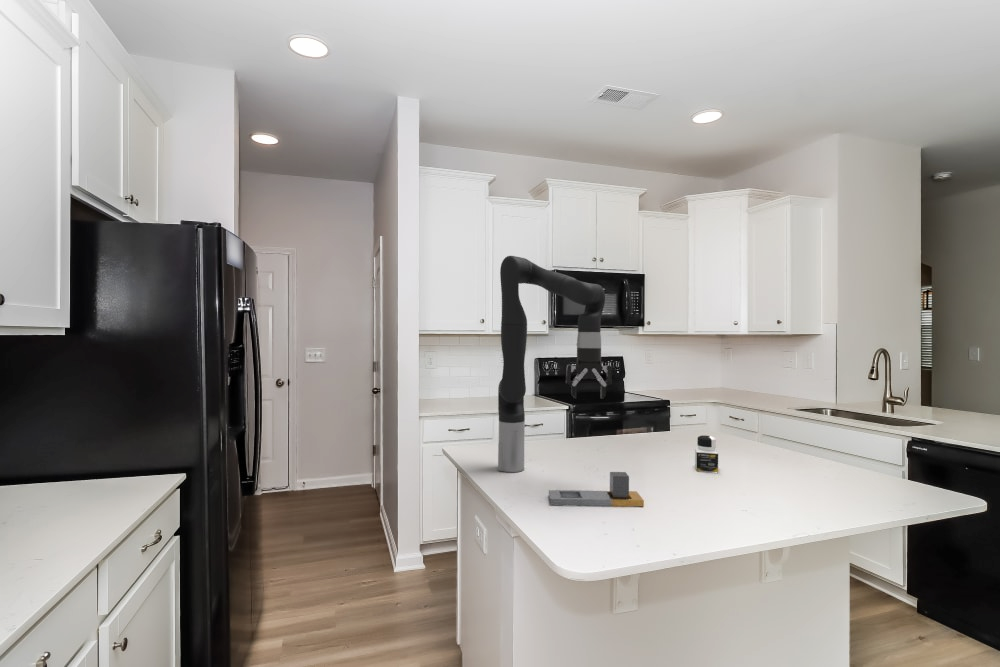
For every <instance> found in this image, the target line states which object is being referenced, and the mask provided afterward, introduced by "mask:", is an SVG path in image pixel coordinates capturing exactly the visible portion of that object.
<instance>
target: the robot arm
mask: <svg viewBox="0 0 1000 667" xmlns="http://www.w3.org/2000/svg"><path fill="white" fill-rule="evenodd" d="M499 273H500V274H499V275H500V276H499V277H500V290H501V322H500V344H501V352H502V353H501V354H502V358H503V364H502V365H503V366H502V367H503V368H502V377H501V380H500V381H499V383H498V389H497V391H498V392H497V397H498V398H497V399H498V400H497V401H498V402H497V403H498V404H497V405H498V409H497V410H498V444H497V445H498V446H497V447H498V448H497V449H498V450H497V459H498V460H497V466H498V467H497V470H498V472H505V473H519V472H522V471H524V470H525V427H526V426H525V419H526V418H525V417H526V415H525V407H524V406H525V402H524V401H525V400H524V399H525V398H524V397H525V395H526V390H527V388H526V387H527V386H526V375H525V360H526V359H525V357H526V351H527V338H528V320H527V315H526V312H525V309H524V306H523V305H522V303H521V302H522V301H521V299H520V296H519V295H520V294H519V292H520V291H519V289H520V288H519V285H520V284H527V285H528V284H529V285H534V286H539V287H541V288H543V289H545V290H546V291H548V292H550V293H552V294H554V295H556V296H560V297H563V298H566V299H568V300H570V301H571V302H573V303H576V304H579V305H581V306H585V307H584V310H583V311H584V312H583V313H581V314H579V316H578V318H577V337H576V339H577V340H576V364H575V365H571V364H567V365H566V369H565V370H566V372H565V384H568V385H570V388H571V391H570V394H571V396H572V397H573V399H577V397H578V396H577V394H578V393H577V389H578V388H577V384H578V383H579V382H580V381H581V380H582V379H583V380H589V379H590V380H595V379H596V380H597V381H598V382H599V384H600V385H601V386H600V390H599V391H600V394H599V395H600V396H599V397H600V399H604V398H605V397H606V395H607V387H608V386H611V385H612V384H613V372H612V371H613V370H612V366H611V365H609V364H607V365H602V335H601V330H602V329H601V318H602V315H603V311H604V307H605V303H606V294H605V290H604V288H603V286H601V285H600V284H598V283H591V282H590V283H589V282H585V281H581V280H578V279H577V278H575V277H573V276H570V275H567V274H563V273H560V272H556V271H553V270H549V269H546V268H544V267H541V266H539V265H537V264H536V263H535V262H532V261H530V260H529V259H527V258H525V257H520V256H515V255H507V256H505V258H504V259H503V260H502V262H501V264H500V271H499ZM575 370H576V372H577V374H576V376H575V377H574V378H573V380H571V379H572V378H571V377H572V373H573V372H574V371H575ZM602 371H604V372H605V373H606V374H605V375H606V380H604V379H603V377H602V376H601V375H600V373H601V372H602ZM604 400H605V399H604Z"/></svg>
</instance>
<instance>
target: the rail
mask: <svg viewBox="0 0 1000 667" xmlns="http://www.w3.org/2000/svg"><path fill="white" fill-rule="evenodd" d="M569 497H580V498H569ZM548 499H550V500H549V502H550V503H551V504H550V506H563V505H585V506H584V507H628V506H644V505H645V503H644V502H645V499H643V498H642V496H641V495H640V493H639V492H638V491H636V490H635V491H633V490H629V499H611V498H610V490H574V489H573V490H571V489H570V490H567V489H566V490H565V489H549V490H548ZM644 507H645V506H644Z"/></svg>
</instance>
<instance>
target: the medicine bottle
mask: <svg viewBox="0 0 1000 667" xmlns="http://www.w3.org/2000/svg"><path fill="white" fill-rule="evenodd" d="M696 442H697V444H696V445H697V446H696V447H695V448H694V467H695V471H696V472H700V471H703V472H702V473H704V472H705V473H712V472H717V473H716V474H718V473H719V452H718V450H717V448H716V447H717V446H716V445H717V444H716V442H717V439H716V437H714V436H711V435H705V434H704V435H699V436H698V437H697V440H696Z"/></svg>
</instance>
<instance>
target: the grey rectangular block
mask: <svg viewBox="0 0 1000 667" xmlns="http://www.w3.org/2000/svg"><path fill="white" fill-rule="evenodd" d="M609 491H610V498H611V499H629V491H630V476H629V474H627V472H626V471H610V472H609Z"/></svg>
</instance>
